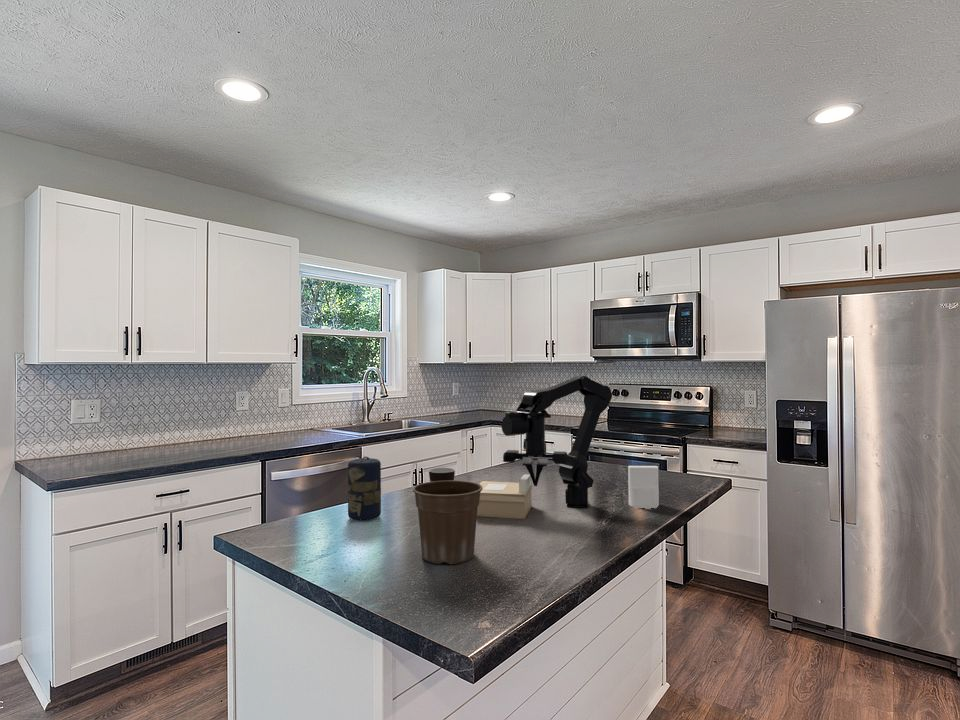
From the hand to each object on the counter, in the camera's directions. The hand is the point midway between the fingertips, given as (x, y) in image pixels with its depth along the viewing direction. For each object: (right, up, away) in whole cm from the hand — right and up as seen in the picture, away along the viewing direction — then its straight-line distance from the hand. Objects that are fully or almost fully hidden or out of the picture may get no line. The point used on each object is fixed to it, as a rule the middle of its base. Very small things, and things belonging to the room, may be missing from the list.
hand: (535, 485), depth 163 cm
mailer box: (-10, -8, +2) cm, 13 cm away
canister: (-50, -9, -3) cm, 51 cm away
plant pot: (-24, -8, -35) cm, 43 cm away
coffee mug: (-29, -9, +17) cm, 35 cm away
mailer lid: (-10, -3, +2) cm, 11 cm away
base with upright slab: (+34, -8, +7) cm, 36 cm away
